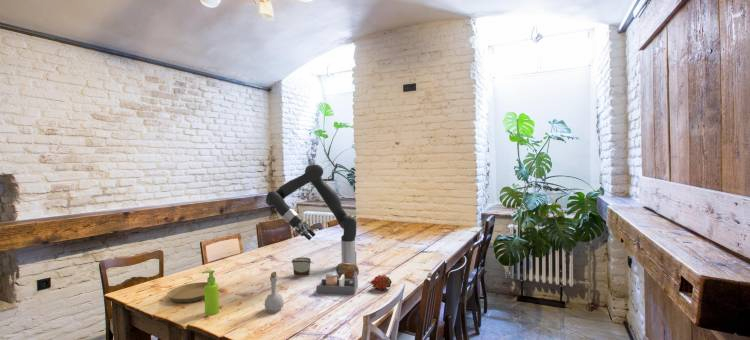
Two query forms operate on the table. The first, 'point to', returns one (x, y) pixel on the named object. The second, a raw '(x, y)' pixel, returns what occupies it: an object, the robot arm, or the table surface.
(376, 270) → the table surface
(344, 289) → the grey low-walled tray
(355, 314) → the table surface
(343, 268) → the brown lumpy slab
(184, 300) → the plant saucer
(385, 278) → the dragon fruit
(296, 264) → the food container
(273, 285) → the potion bottle
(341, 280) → the pusher
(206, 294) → the soap dispenser
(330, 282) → the jar
